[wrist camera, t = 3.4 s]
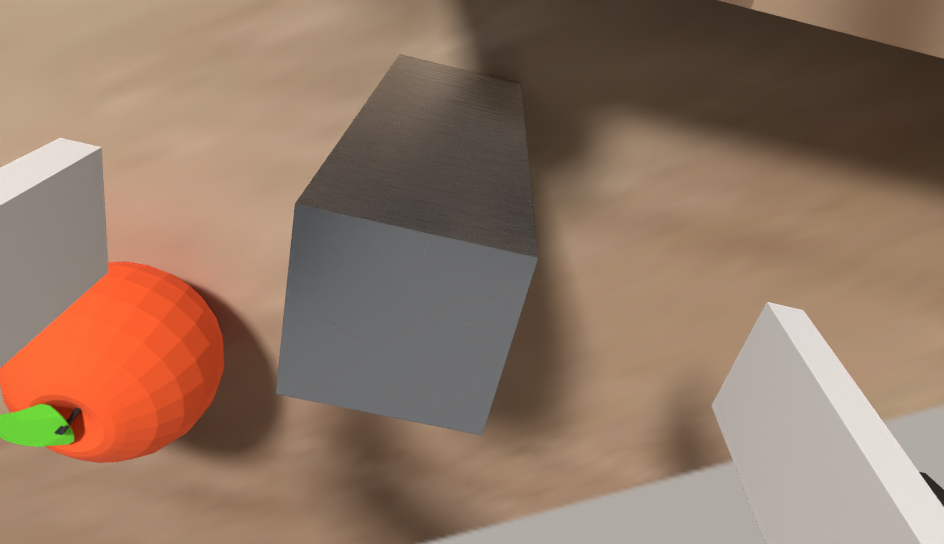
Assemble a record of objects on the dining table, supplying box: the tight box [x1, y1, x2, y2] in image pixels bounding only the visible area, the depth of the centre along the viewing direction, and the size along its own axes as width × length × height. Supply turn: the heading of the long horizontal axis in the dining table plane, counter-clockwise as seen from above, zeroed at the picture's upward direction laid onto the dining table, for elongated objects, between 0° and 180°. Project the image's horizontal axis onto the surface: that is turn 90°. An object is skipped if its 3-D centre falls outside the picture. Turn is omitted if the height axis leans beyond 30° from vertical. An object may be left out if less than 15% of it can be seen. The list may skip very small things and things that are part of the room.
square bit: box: [276, 55, 538, 435], centre depth 17 cm, size 4×4×12 cm
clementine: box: [0, 262, 224, 463], centre depth 23 cm, size 8×7×7 cm
